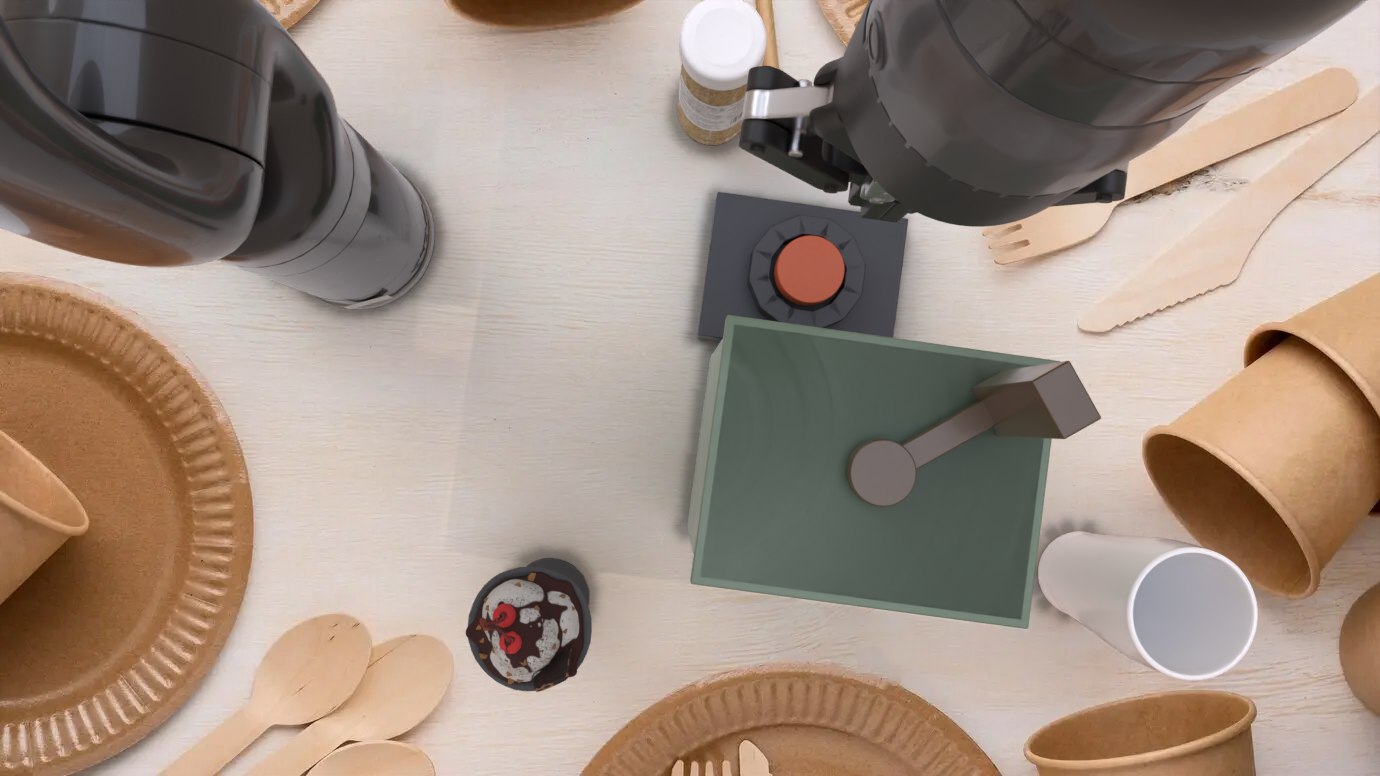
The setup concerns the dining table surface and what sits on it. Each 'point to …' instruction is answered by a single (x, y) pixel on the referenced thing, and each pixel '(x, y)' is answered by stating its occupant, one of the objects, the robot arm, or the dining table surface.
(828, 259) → the button
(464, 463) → the dining table surface
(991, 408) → the lever
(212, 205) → the robot arm
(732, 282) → the control box
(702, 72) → the sprinkles bottle
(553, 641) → the sundae
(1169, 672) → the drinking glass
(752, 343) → the block
